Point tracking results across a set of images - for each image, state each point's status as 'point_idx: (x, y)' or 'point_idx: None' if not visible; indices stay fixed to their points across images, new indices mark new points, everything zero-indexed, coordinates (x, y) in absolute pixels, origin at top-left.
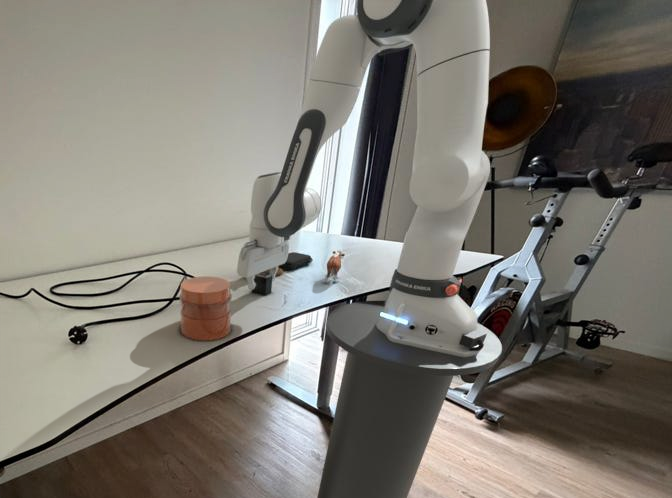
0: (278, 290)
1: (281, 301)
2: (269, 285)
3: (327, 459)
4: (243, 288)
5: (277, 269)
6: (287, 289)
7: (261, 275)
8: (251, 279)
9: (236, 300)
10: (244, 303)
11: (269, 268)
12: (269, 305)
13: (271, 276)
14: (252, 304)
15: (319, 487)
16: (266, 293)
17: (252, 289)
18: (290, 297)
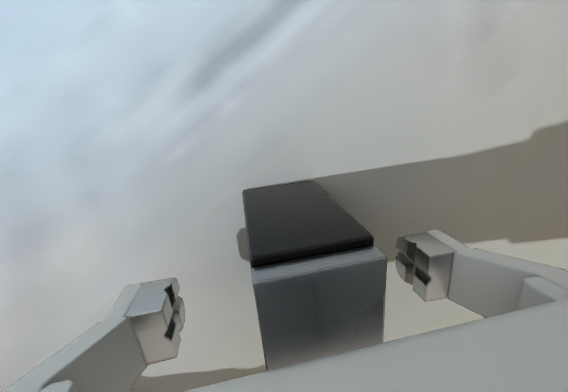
0: (156, 191)
1: (325, 11)
2: (284, 208)
3: None
4: None
5: (21, 383)
6: (70, 160)
7: (382, 312)
8: (554, 272)
9: (473, 231)
10: (489, 172)
11: (307, 372)
12: (441, 30)
13: (273, 254)
14: (480, 128)
15: None
16: (305, 184)
17: (432, 232)
18: (197, 9)
